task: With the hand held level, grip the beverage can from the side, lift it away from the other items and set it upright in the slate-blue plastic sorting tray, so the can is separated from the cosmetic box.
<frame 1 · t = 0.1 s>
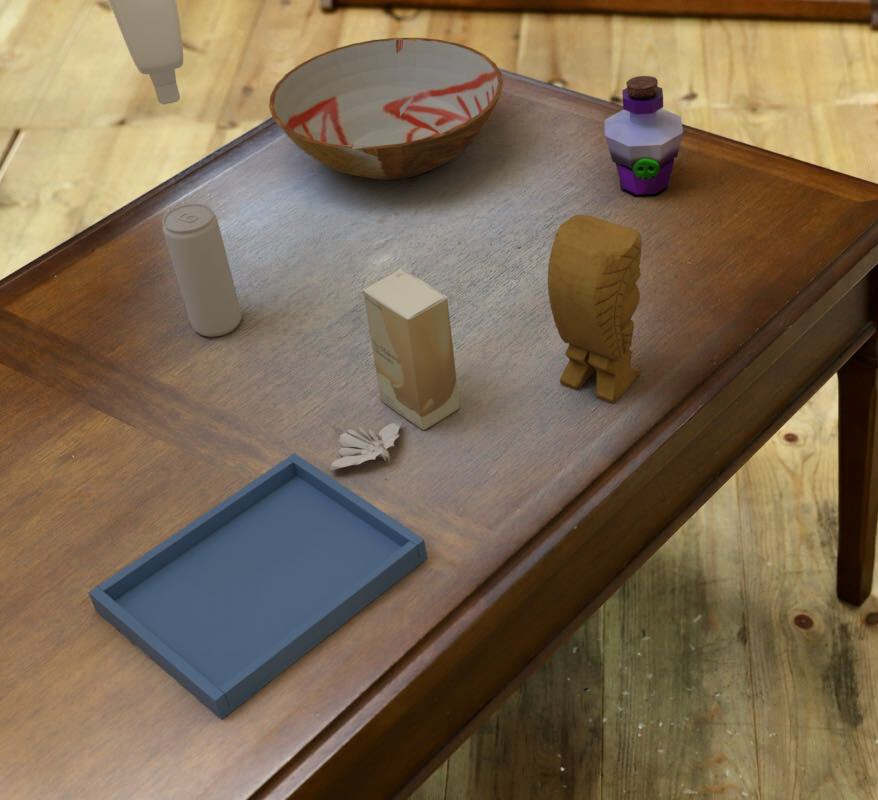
hand: (162, 76, 120), 23 cm above the table, tool pointing down, fingers open, 8 cm apart
beverage can: (217, 325, 131), on the table
sorting tray: (263, 584, 105), on the table
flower: (361, 449, 116), on the table
figurine: (598, 383, 122), on the table
potion bottle: (644, 185, 147), on the table
bowl: (396, 155, 154), on the table
cosmetic box: (421, 406, 120), on the table
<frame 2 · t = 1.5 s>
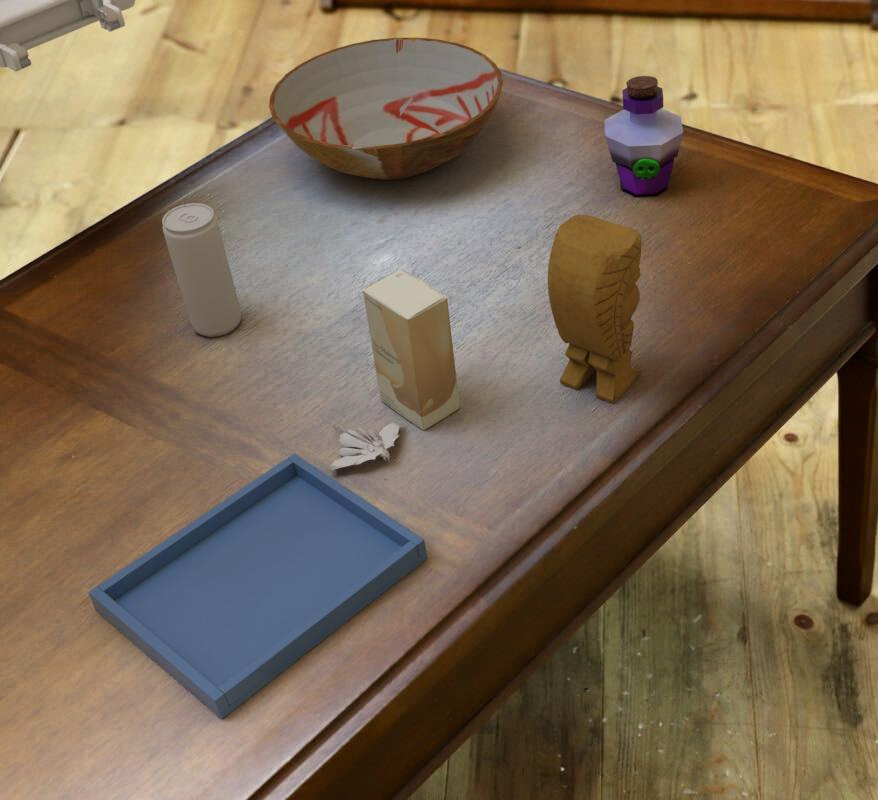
hand: (70, 40, 121), 25 cm above the table, tool horizontal, fingers open, 8 cm apart
nothing on the table moved.
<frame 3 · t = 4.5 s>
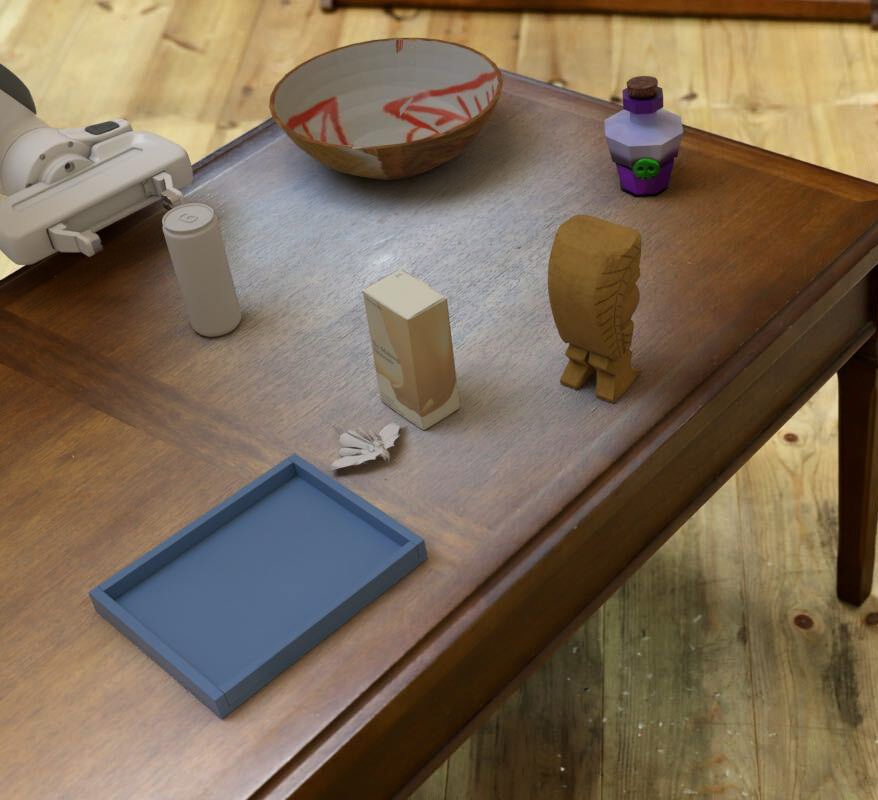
hand: (138, 224, 131), 7 cm above the table, tool horizontal, fingers open, 8 cm apart
nothing on the table moved.
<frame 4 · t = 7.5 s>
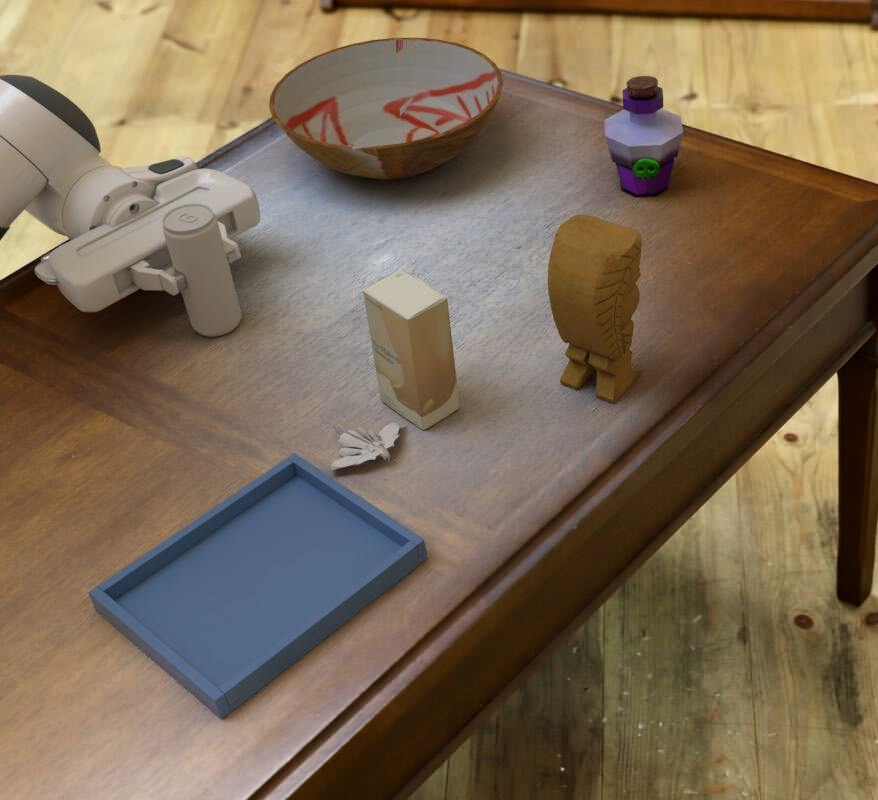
hand: (207, 269, 126), 7 cm above the table, tool horizontal, fingers closed on beverage can, 5 cm apart
beverage can: (218, 325, 131), on the table, touching gripper
everything else where it was.
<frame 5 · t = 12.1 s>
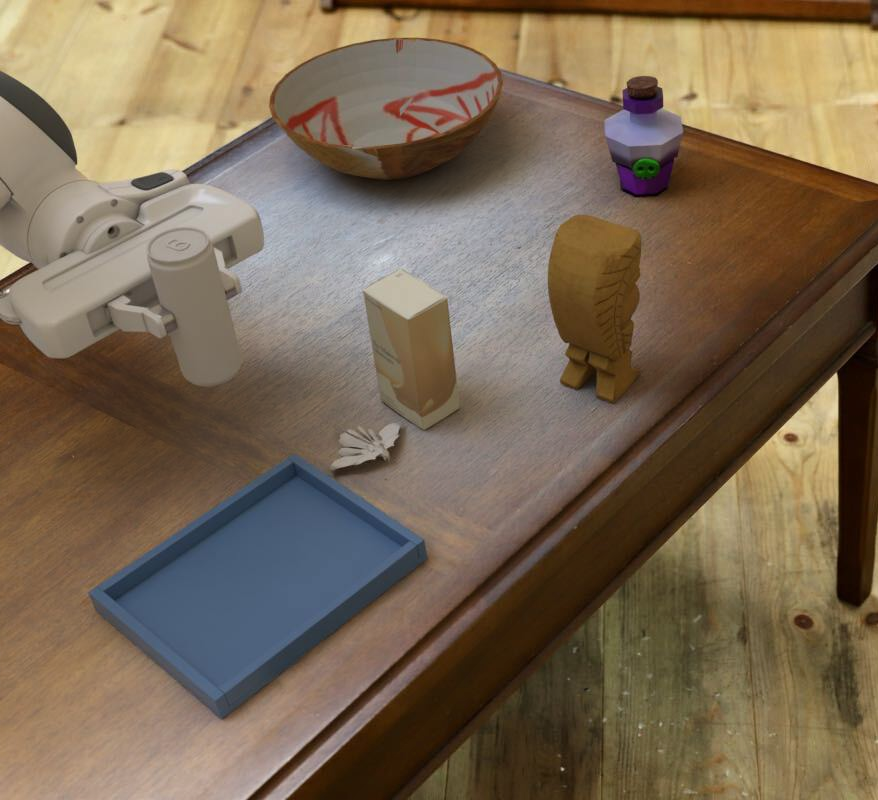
hand: (201, 307, 104), 17 cm above the table, tool horizontal, fingers closed on beverage can, 5 cm apart
beverage can: (213, 372, 109), point 10 cm above the table, touching gripper
everything else where it was.
when the fingers open (7 cm above the table, at t = 17.1 s): beverage can stays where it is, resting on sorting tray.
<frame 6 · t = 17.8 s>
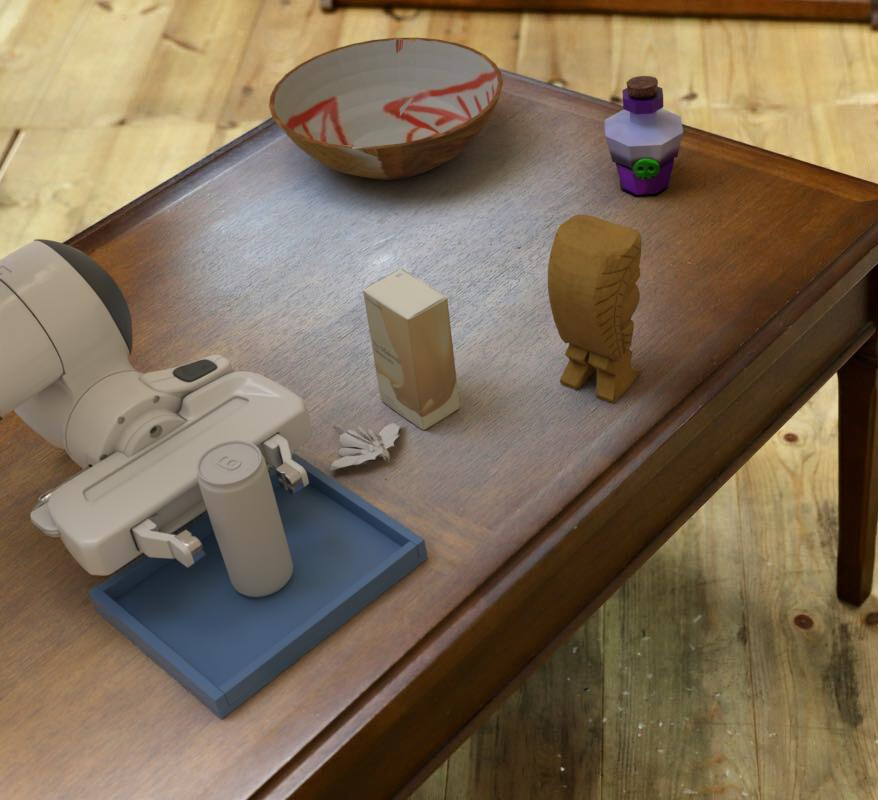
hand: (249, 518, 99), 8 cm above the table, tool horizontal, fingers open, 8 cm apart
beverage can: (263, 579, 105), resting on sorting tray
everything else where it was.
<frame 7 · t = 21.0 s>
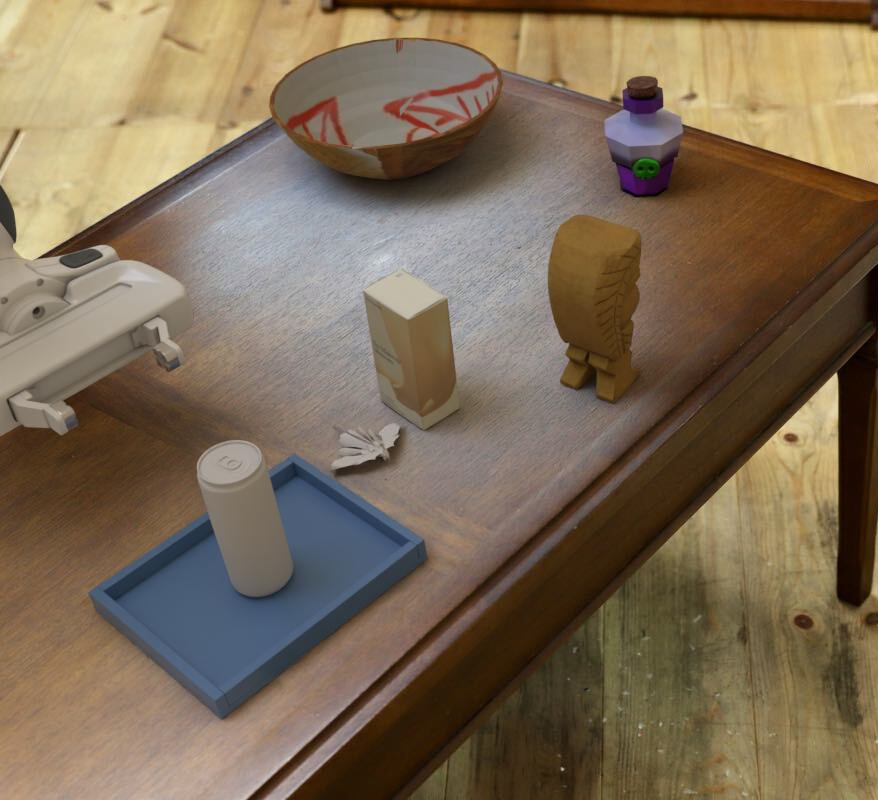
hand: (123, 391, 103), 13 cm above the table, tool horizontal, fingers open, 8 cm apart
nothing on the table moved.
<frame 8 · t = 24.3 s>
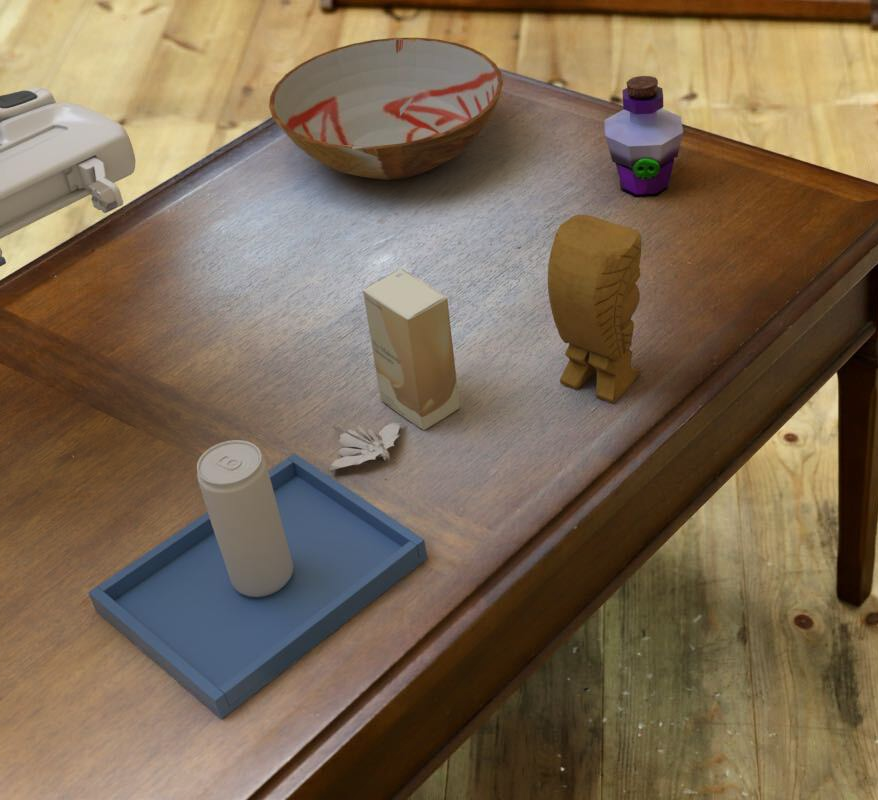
hand: (55, 229, 96), 26 cm above the table, tool horizontal, fingers open, 8 cm apart
nothing on the table moved.
at the end: beverage can inside the target area in the sorting tray (0.1 cm from its centre), point 0.4 cm above the sorting tray's base; beverage can tilted 0°; the gripper is holding nothing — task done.
